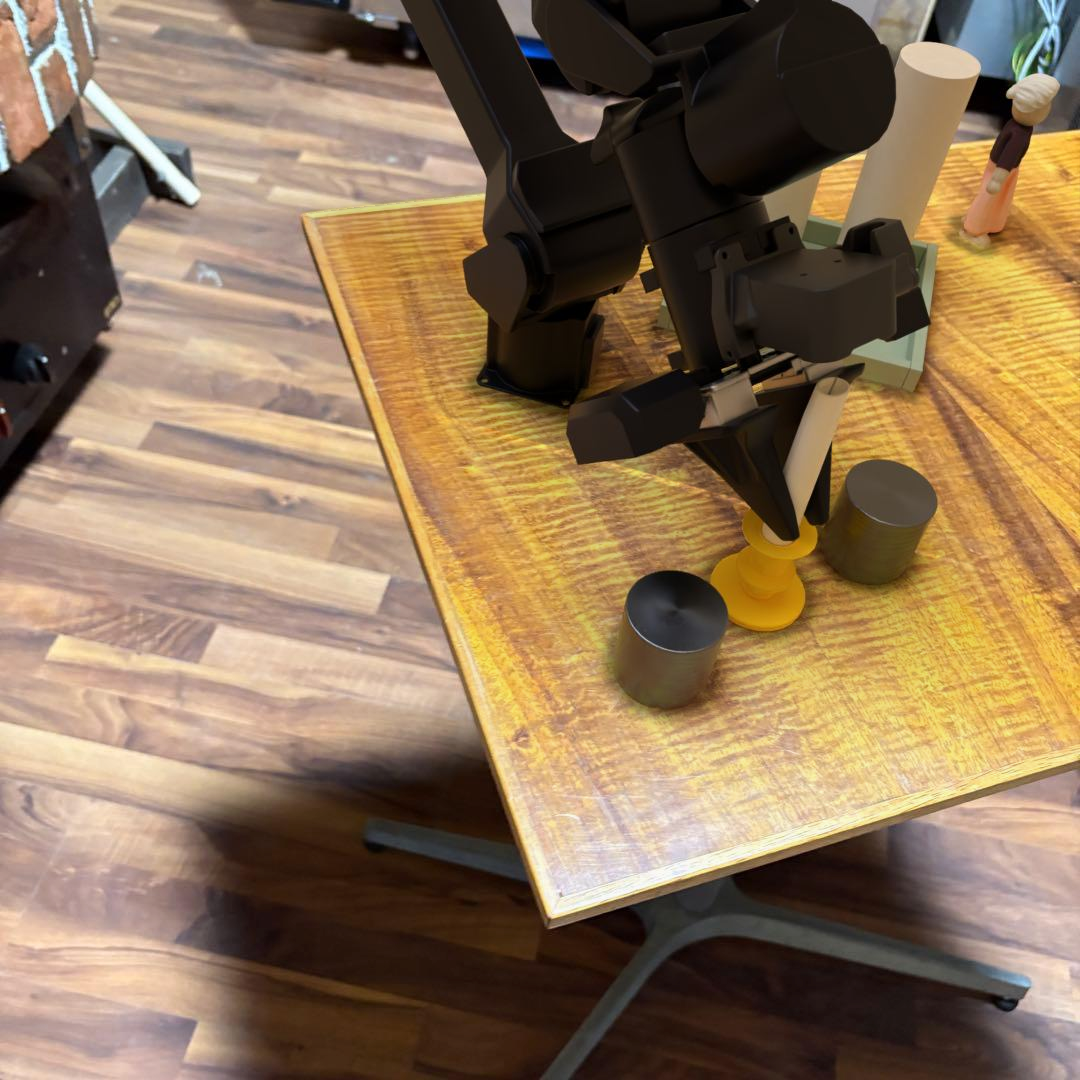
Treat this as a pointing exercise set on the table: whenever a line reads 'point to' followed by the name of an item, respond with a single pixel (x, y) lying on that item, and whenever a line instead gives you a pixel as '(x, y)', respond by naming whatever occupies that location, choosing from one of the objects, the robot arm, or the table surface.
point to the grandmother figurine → (1008, 157)
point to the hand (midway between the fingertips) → (805, 532)
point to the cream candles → (900, 143)
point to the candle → (767, 564)
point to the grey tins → (701, 613)
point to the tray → (882, 359)
